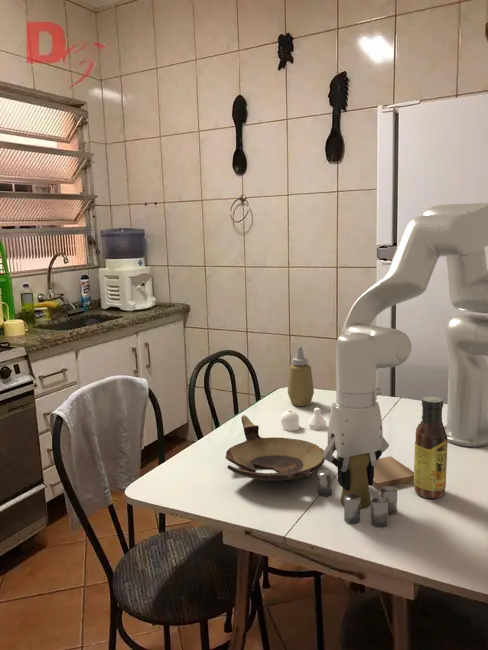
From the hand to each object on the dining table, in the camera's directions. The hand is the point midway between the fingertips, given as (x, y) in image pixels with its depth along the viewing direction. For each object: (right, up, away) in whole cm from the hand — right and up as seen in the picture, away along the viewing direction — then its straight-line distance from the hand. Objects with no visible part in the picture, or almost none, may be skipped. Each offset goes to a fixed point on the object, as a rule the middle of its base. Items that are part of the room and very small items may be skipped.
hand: (355, 484), depth 108 cm
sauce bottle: (+16, -3, +4) cm, 17 cm away
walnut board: (+9, -1, +11) cm, 14 cm away
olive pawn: (0, -4, +1) cm, 4 cm away
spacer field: (+1, -4, -1) cm, 4 cm away
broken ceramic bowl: (-15, -2, +17) cm, 23 cm away
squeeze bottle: (-5, +7, +59) cm, 60 cm away
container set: (-2, +3, +41) cm, 41 cm away
